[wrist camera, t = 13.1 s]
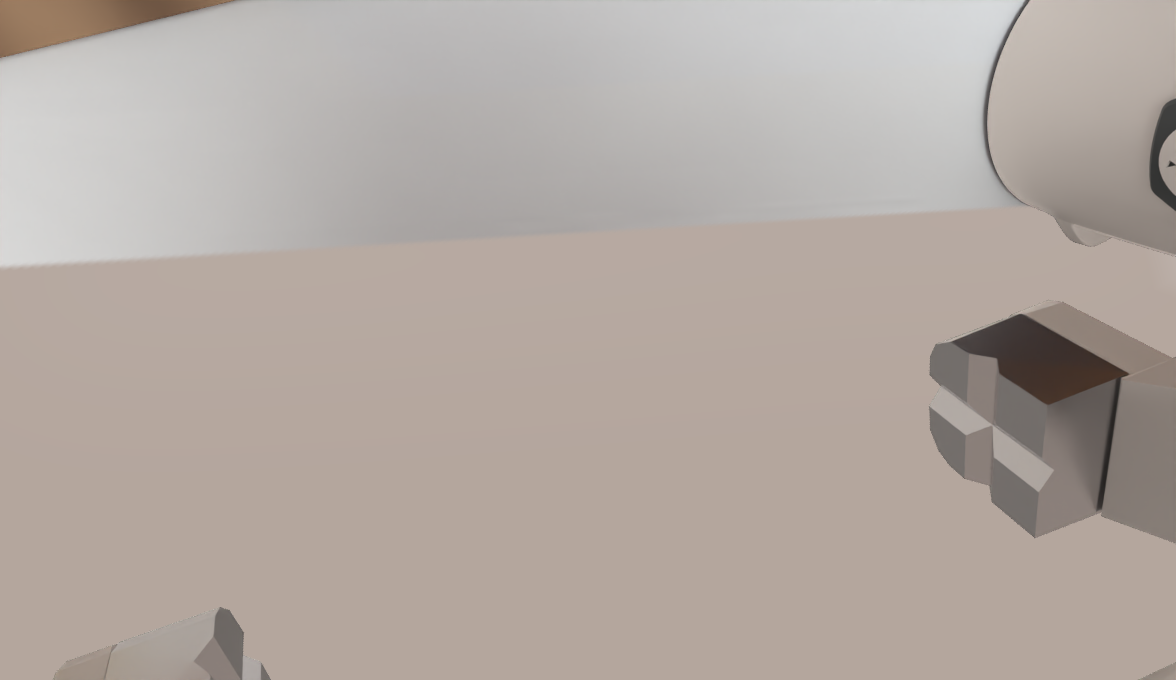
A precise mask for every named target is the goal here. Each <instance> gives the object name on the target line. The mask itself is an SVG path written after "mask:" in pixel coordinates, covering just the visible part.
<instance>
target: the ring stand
mask: <svg viewBox="0 0 1176 680" xmlns="http://www.w3.org/2000/svg"><path fill="white" fill-rule="evenodd" d="M230 1H234V0H0V58H1V57H6V56H10V55H14V54H18V53H22V52H26V51H30V50H34V49H38V48H42V47H46V46H50V45H54V44H59V43H63V42H67V41H71V40H75V39H79V38H83V37H87V36H91V35H95V34H99V33H103V32H108V31H112V30H116V29H120V28H124V27H128V26H132V25H136V24H140V23H144V22H148V21H152V20H156V19H161V18H165V17H169V16H173V15H177V14H181V13H185V12H189V11H193V10H197V9H201V8H205V7H210V6H214V5H218V4H222V3H226V2H230Z"/></svg>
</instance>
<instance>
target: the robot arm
mask: <svg viewBox="0 0 1176 680" xmlns="http://www.w3.org/2000/svg"><path fill="white" fill-rule="evenodd" d="M987 130H988V141H989V148H990V153H991V157H992V160H993V163H994V166H995V169H996V171H997V173H998V175H999V177H1000V179H1001V180H1002V182H1003V183H1004V185H1005V186H1006V187H1007V189H1008V190H1009V191H1010V192H1011V193H1012V194H1013V195H1014V196H1015V197H1016V198H1018V199H1019V200H1020V201H1022V202H1023V203H1025V204H1027V205H1029V206H1031V207H1034V208H1036V209H1039V210H1041V211H1044V212H1046V213H1048V214H1050V215H1051V216H1053V217H1054V218H1055V219H1056V221H1057V223H1058V224H1059V226H1060V228H1061V229H1062V231H1063V232H1064V233H1065V235H1066V236H1067V237H1068V238H1069V239H1070V240H1072V241H1073V242H1075V243H1079V244H1082V245H1086V246H1096V245H1098V244H1101V243H1103V242H1104V241H1106V240H1108V239H1110V238H1116V239H1119V240H1122V241H1125V242H1128V243H1132V244H1135V245H1138V246H1141V247H1145V248H1148V249H1152V250H1155V251H1158V252H1162V253H1165V254H1168V255H1171V256H1175V257H1176V0H1030V1H1029V2H1028V4H1027V5H1026V7H1025V8H1024V10H1023V12H1022V13H1021V15H1020V16H1019V18H1018V20H1017V21H1016V23H1015V25H1014V27H1013V29H1012V31H1011V33H1010V35H1009V37H1008V39H1007V41H1006V43H1005V46H1004V48H1003V51H1002V53H1001V56H1000V59H999V61H998V64H997V67H996V71H995V74H994V78H993V82H992V86H991V91H990V97H989V104H988V116H987ZM930 376H931V377H932V378H933V379H934V380H935V381H936V382H937V383H938V384H939V385H940V386H941V387H940V389H939V390H938V392H937V394H936V396H935V398H934V399H933V401H932V403H931V405H930V406H929V410H930V430H931V433H932V435H933V438H934V440H935V443H936V445H937V448H938V450H939V452H940V453H941V455H942V456H943V457H944V459H945V460H946V461H947V463H948V464H949V465H950V466H951V467H952V468H953V469H954V470H955V471H956V472H957V473H959V474H960V475H961V476H962V477H963V478H964V479H967V480H971V481H975V482H979V483H982V484H986V485H989V486H990V493H991V500H992V503H994V504H995V505H996V506H997V507H998V508H1000V509H1001V510H1002V511H1003V512H1004V513H1006V514H1007V515H1008V516H1009V517H1011V519H1013V520H1014V521H1015V522H1016V523H1017V524H1019V525H1020V526H1021V527H1022V528H1023V529H1025V530H1026V531H1027V532H1028V533H1029V534H1031V535H1032V536H1033V537H1034V538H1036V537H1039V536H1041V535H1044V534H1047V533H1049V532H1052V531H1054V530H1057V529H1059V528H1062V527H1064V526H1067V525H1069V524H1072V523H1075V522H1077V521H1080V520H1082V519H1085V518H1088V517H1090V516H1093V515H1095V514H1098V513H1100V512H1102V514H1101V516H1102V517H1105V518H1108V519H1111V520H1113V521H1116V522H1119V523H1121V524H1124V525H1127V526H1130V527H1132V528H1135V529H1138V530H1140V531H1143V532H1146V533H1149V534H1151V535H1154V536H1157V537H1160V538H1163V539H1165V540H1168V541H1171V542H1173V543H1176V357H1175V358H1171V357H1169V356H1167V355H1165V354H1163V353H1161V352H1159V351H1157V350H1155V349H1153V348H1151V347H1149V346H1148V345H1146V344H1144V343H1142V342H1140V341H1138V340H1136V339H1134V338H1132V337H1130V336H1128V335H1126V334H1124V333H1122V332H1120V331H1118V330H1116V329H1114V328H1112V327H1110V326H1109V325H1106V324H1105V323H1103V322H1101V321H1099V320H1097V319H1095V318H1093V317H1091V316H1089V315H1087V314H1085V313H1083V312H1081V311H1079V310H1077V309H1075V308H1073V307H1072V306H1070V305H1068V304H1066V303H1064V302H1059V301H1050V300H1047V301H1045V302H1042V303H1040V304H1037V305H1034V306H1032V307H1029V308H1027V309H1024V310H1022V311H1019V312H1017V313H1014V314H1012V315H1010V316H1009V317H1008V318H1005V319H1002V320H999V321H996V322H994V323H991V324H988V325H986V326H983V327H980V328H978V329H975V330H972V331H970V332H967V333H964V334H962V335H959V336H956V337H954V338H951V339H948V340H946V341H943V342H940V343H938V344H936V345H935V347H934V349H933V351H932V354H931V356H930ZM243 637H244V632H243V631H242V629H241V627H240V626H239V624H238V623H237V621H236V620H235V618H234V617H233V615H232V613H231V612H230V610H227V609H224V608H221V607H220V608H217V609H214V610H211V611H208V612H206V613H203V614H200V615H197V616H194V617H191V618H188V619H185V620H182V621H179V622H176V623H173V624H170V625H168V626H165V627H162V628H159V629H156V630H153V631H150V632H147V633H144V634H142V635H139V636H136V637H133V638H130V639H127V640H124V641H121V642H119V643H118V644H116V645H112V646H109V647H106V648H104V649H100V650H97V651H95V652H92V653H89V654H86V655H83V656H80V657H78V658H75V659H72V660H69V661H66V662H65V663H64V664H63V665H62V666H61V668H60V669H59V670H58V671H57V672H56V673H55V676H54V678H53V680H271V679H270V677H269V675H268V674H267V672H266V670H265V668H264V667H263V665H262V663H261V662H260V661H257V660H254V659H252V658H249V657H246V656H244V655H243V639H244V638H243ZM1139 680H1176V662H1175V663H1173V664H1171V665H1169V666H1167V667H1165V668H1163V669H1160V670H1158V671H1156V672H1154V673H1152V674H1150V675H1148V676H1145V677H1143V678H1141V679H1139Z"/></svg>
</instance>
